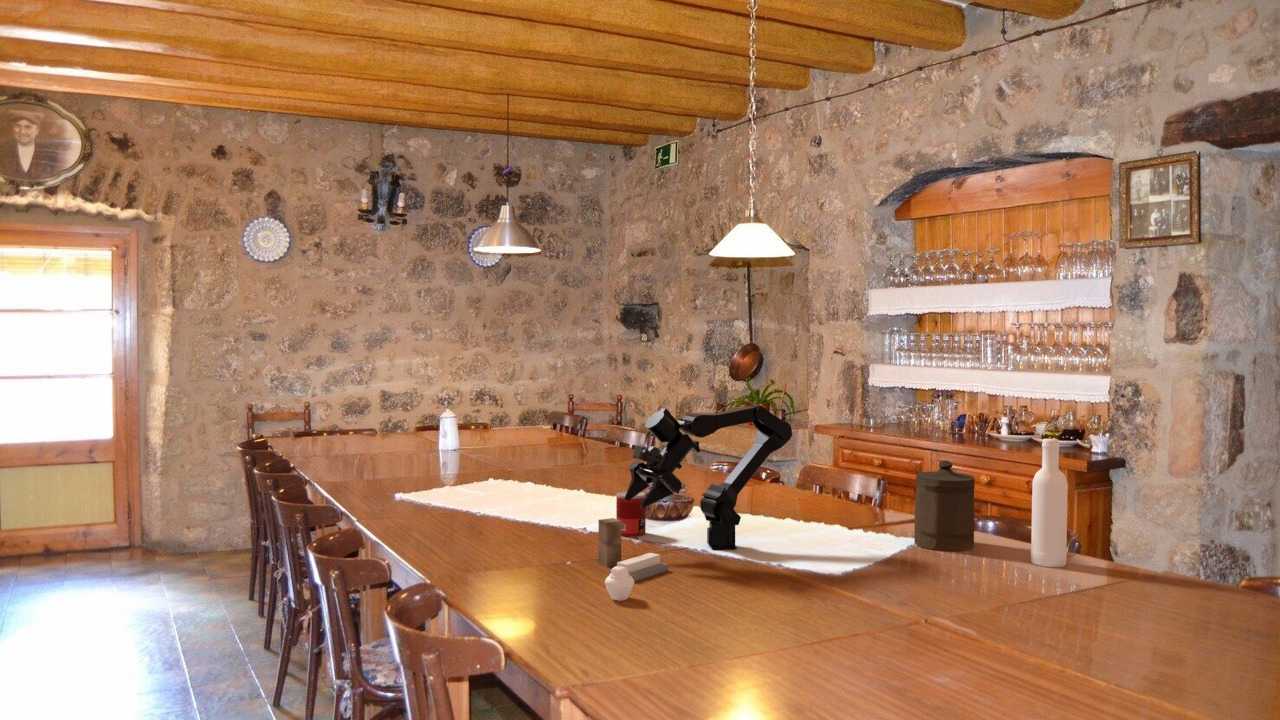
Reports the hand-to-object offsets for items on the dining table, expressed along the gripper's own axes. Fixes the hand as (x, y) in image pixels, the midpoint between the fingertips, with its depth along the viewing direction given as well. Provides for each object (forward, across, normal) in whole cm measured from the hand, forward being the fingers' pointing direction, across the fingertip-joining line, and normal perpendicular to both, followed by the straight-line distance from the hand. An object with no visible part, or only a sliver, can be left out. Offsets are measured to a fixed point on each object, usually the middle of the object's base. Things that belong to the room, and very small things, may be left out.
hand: (633, 503), depth 234 cm
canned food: (+2, -24, +17) cm, 30 cm away
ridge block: (+14, +14, +6) cm, 20 cm away
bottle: (-50, +48, +73) cm, 101 cm away
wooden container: (-44, +23, +67) cm, 83 cm away
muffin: (+22, +29, -3) cm, 37 cm away
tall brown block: (+15, +3, +4) cm, 16 cm away
